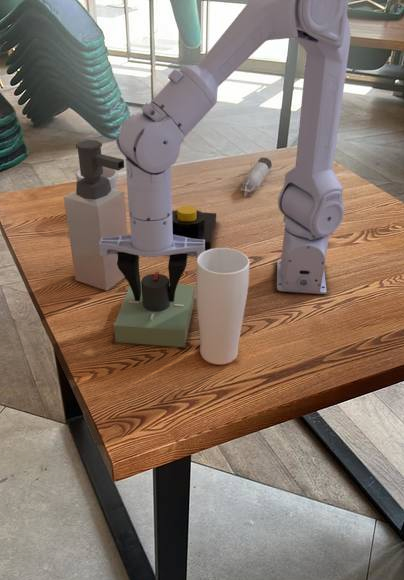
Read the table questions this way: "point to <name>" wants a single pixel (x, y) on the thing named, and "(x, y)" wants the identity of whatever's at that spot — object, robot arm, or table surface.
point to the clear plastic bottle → (256, 175)
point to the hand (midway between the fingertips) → (155, 297)
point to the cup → (107, 173)
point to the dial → (155, 292)
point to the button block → (196, 227)
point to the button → (186, 213)
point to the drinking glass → (221, 302)
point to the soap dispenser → (95, 217)
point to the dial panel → (155, 320)
